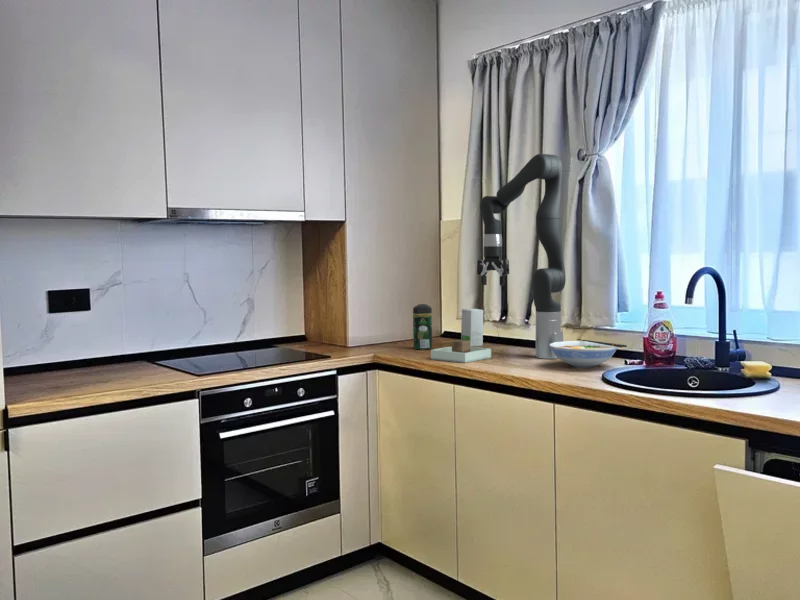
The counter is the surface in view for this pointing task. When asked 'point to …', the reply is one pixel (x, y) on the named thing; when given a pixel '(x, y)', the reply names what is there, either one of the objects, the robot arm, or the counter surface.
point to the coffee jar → (422, 327)
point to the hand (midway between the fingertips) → (493, 285)
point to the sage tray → (460, 354)
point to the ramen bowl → (584, 352)
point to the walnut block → (461, 346)
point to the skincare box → (472, 326)
